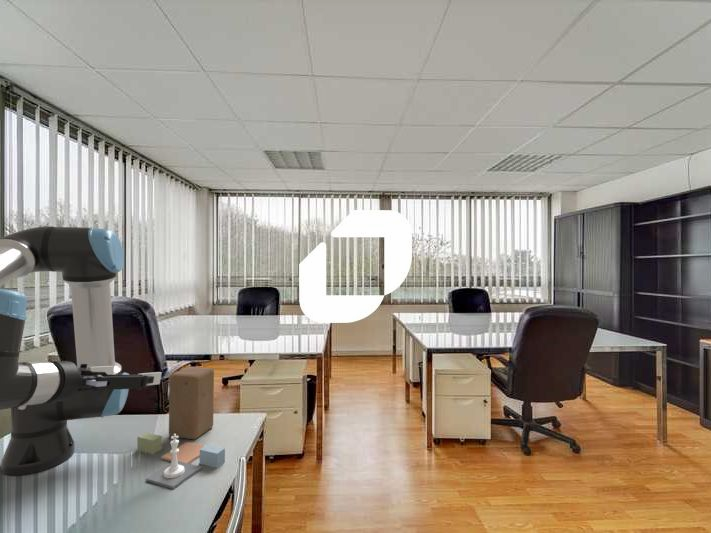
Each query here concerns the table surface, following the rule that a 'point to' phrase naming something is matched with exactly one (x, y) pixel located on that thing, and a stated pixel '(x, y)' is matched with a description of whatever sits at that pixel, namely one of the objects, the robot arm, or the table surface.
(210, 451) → the brick blue
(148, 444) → the brick olive
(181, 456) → the pad terracotta
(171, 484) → the pad slate
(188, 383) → the wooden block
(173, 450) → the chess piece
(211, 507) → the table surface
